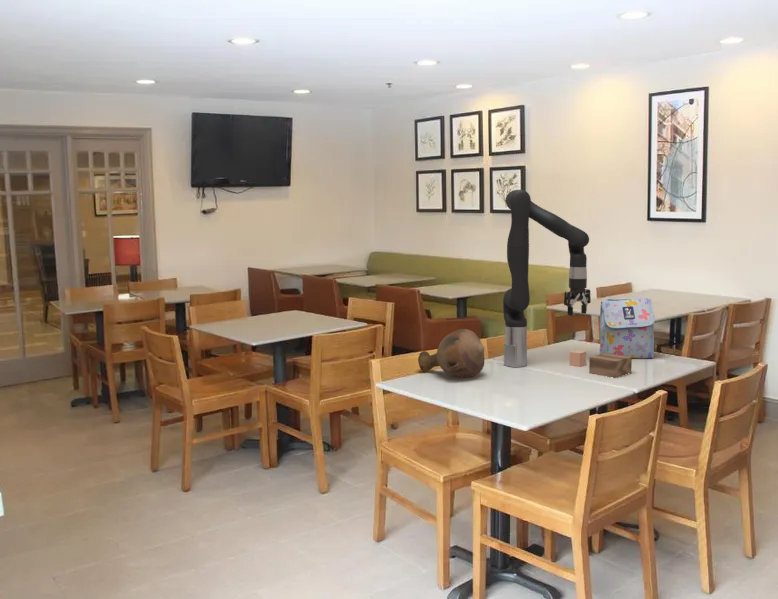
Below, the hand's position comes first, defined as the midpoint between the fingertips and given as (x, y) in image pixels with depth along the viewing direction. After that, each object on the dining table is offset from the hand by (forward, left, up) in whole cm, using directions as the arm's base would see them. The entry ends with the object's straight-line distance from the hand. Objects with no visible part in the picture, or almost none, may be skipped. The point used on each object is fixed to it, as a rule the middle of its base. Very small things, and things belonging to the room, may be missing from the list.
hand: (577, 314), depth 335 cm
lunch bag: (+25, -10, -22) cm, 34 cm away
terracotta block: (-4, -4, -21) cm, 22 cm away
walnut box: (-8, -22, -22) cm, 32 cm away
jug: (-54, +25, -22) cm, 63 cm away
